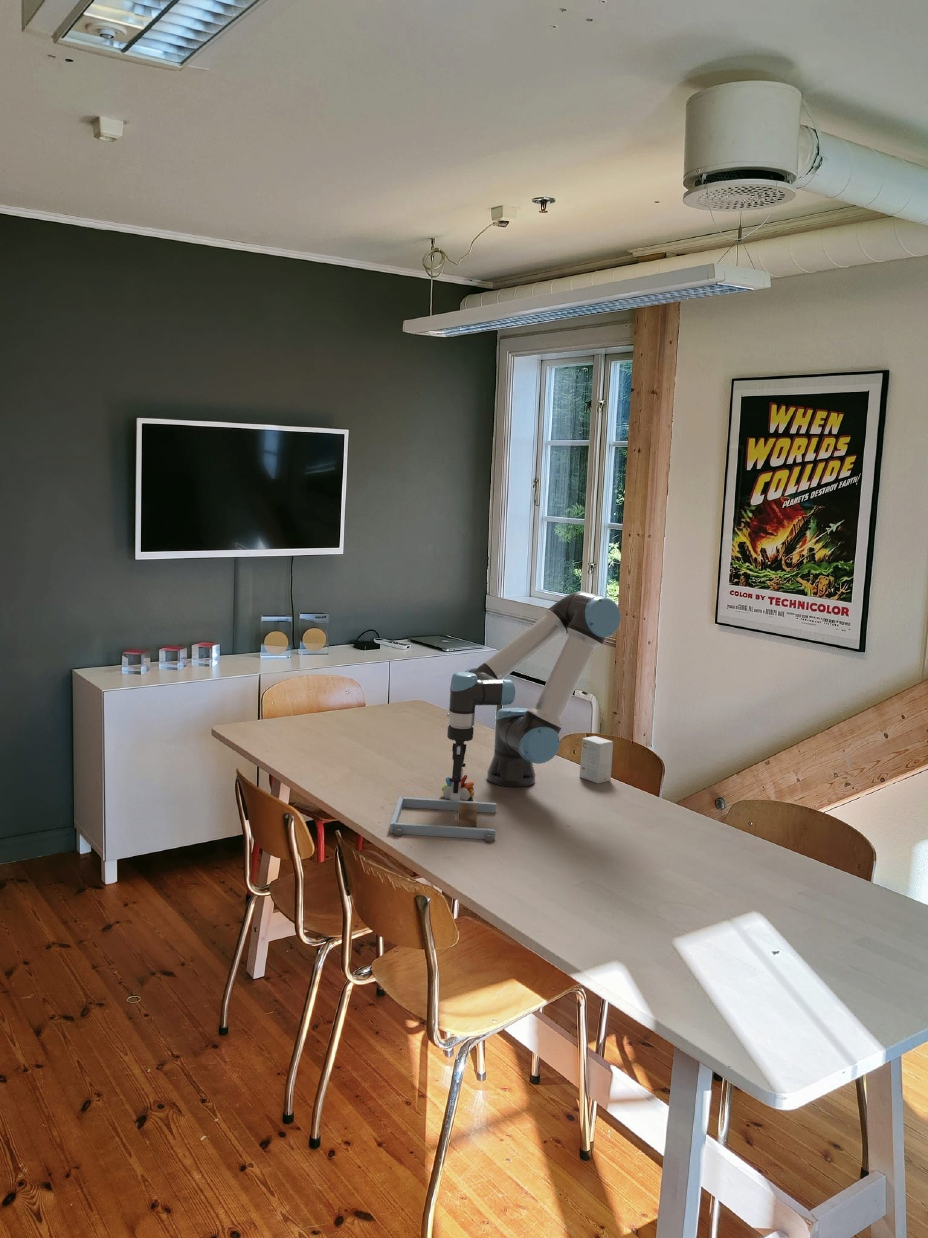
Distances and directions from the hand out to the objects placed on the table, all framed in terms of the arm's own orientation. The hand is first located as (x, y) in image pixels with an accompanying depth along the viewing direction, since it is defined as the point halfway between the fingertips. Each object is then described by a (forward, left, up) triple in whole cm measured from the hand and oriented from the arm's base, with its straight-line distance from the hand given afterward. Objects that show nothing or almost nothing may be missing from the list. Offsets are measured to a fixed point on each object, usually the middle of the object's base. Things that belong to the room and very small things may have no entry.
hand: (456, 796), depth 297 cm
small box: (-43, -29, -1) cm, 52 cm away
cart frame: (+2, +20, -1) cm, 20 cm away
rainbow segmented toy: (-1, -2, -1) cm, 2 cm away
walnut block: (-4, +20, -1) cm, 20 cm away
